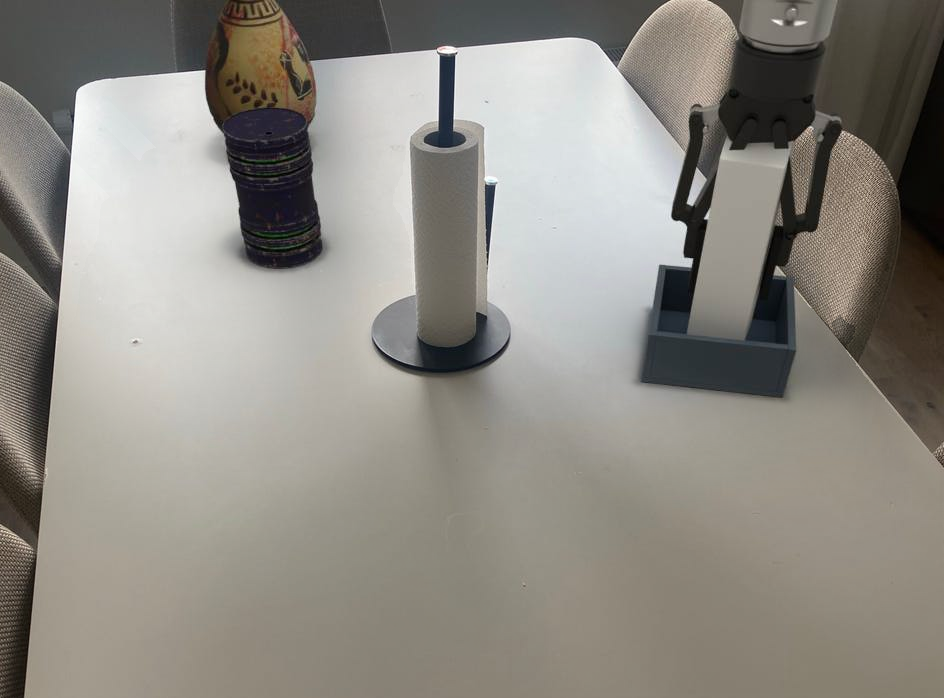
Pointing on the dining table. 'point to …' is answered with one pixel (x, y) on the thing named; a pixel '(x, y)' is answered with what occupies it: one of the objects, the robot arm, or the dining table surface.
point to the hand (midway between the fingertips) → (727, 289)
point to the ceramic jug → (257, 63)
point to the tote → (720, 341)
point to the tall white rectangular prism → (737, 239)
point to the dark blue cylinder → (274, 186)
